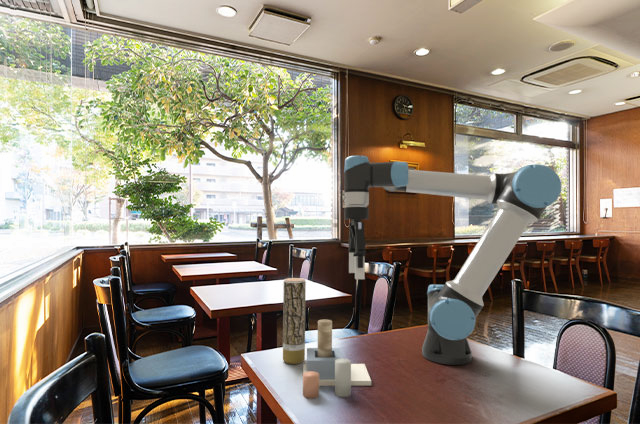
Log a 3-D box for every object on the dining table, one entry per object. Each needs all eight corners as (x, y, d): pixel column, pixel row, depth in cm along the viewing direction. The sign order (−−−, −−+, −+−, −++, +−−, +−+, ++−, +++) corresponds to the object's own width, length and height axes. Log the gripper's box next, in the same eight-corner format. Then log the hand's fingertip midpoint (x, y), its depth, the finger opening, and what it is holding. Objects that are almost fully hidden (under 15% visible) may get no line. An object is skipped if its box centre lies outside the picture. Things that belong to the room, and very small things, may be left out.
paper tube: (301, 365, 113) (302, 281, 114) (279, 363, 114) (280, 280, 115) (307, 357, 120) (307, 278, 120) (286, 356, 121) (287, 277, 122)
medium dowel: (349, 389, 97) (350, 358, 97) (351, 397, 93) (351, 364, 93) (334, 390, 97) (334, 358, 97) (335, 397, 93) (335, 364, 93)
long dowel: (331, 369, 107) (331, 319, 108) (332, 374, 103) (332, 323, 104) (317, 369, 107) (317, 319, 108) (317, 374, 103) (318, 323, 104)
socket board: (364, 367, 112) (364, 346, 112) (371, 385, 100) (371, 361, 100) (303, 368, 111) (303, 346, 111) (303, 385, 99) (303, 362, 99)
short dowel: (318, 391, 96) (318, 371, 96) (319, 398, 92) (319, 377, 92) (302, 391, 96) (303, 371, 96) (302, 398, 92) (303, 377, 92)
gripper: (340, 208, 129) (340, 270, 128) (349, 204, 104) (349, 282, 103) (362, 208, 129) (362, 270, 129) (376, 204, 104) (376, 282, 104)
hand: (356, 275), depth 116 cm, fingers open, 13 cm apart
